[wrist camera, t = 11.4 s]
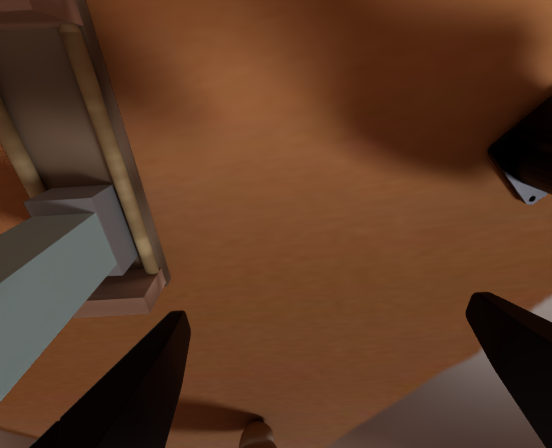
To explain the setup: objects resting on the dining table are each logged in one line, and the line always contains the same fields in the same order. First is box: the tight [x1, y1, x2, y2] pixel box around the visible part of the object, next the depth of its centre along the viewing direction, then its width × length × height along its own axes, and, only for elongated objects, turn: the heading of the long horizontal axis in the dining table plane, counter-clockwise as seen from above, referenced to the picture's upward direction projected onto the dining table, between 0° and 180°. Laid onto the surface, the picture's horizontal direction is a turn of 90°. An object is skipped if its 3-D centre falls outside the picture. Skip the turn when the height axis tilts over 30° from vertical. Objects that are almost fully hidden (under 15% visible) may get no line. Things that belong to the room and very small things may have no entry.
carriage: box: [0, 184, 138, 402], centre depth 14 cm, size 6×4×14 cm
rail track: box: [0, 0, 171, 318], centre depth 17 cm, size 20×7×4 cm, turn 3°
